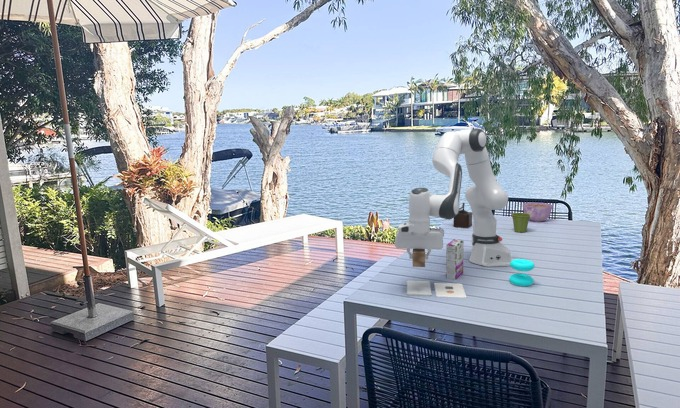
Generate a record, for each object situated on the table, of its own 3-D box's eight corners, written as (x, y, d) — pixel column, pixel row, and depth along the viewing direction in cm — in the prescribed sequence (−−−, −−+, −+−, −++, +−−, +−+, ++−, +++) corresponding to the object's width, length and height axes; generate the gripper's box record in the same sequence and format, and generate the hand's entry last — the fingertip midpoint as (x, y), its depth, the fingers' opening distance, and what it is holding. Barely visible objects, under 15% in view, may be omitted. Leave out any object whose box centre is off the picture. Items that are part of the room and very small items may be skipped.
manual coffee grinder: (456, 223, 313) (457, 198, 310) (472, 225, 307) (473, 199, 304) (449, 228, 300) (450, 202, 297) (465, 230, 294) (466, 203, 291)
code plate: (461, 284, 195) (461, 283, 195) (466, 298, 180) (466, 297, 180) (434, 283, 197) (434, 282, 197) (436, 297, 181) (436, 296, 181)
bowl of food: (525, 223, 310) (526, 207, 308) (518, 217, 329) (519, 202, 327) (555, 223, 306) (556, 207, 304) (547, 217, 326) (548, 202, 324)
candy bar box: (453, 271, 212) (453, 238, 209) (463, 273, 210) (464, 239, 207) (445, 278, 203) (446, 244, 200) (456, 280, 200) (456, 245, 197)
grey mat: (429, 283, 197) (429, 281, 197) (431, 296, 182) (431, 294, 182) (406, 282, 199) (406, 280, 199) (406, 296, 183) (407, 293, 183)
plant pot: (531, 230, 289) (532, 213, 287) (528, 234, 279) (529, 217, 277) (512, 228, 295) (513, 212, 293) (508, 232, 286) (509, 215, 284)
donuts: (538, 264, 189) (514, 265, 189) (537, 287, 190) (513, 287, 191) (529, 257, 198) (506, 258, 199) (528, 279, 200) (505, 279, 200)
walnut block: (424, 259, 193) (424, 246, 192) (425, 267, 183) (425, 253, 182) (412, 259, 193) (412, 246, 192) (412, 266, 184) (413, 252, 183)
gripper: (443, 225, 187) (443, 257, 189) (395, 224, 190) (395, 255, 193) (445, 229, 181) (444, 261, 183) (394, 228, 184) (394, 260, 186)
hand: (418, 258), depth 188 cm, fingers closed on walnut block, 5 cm apart
